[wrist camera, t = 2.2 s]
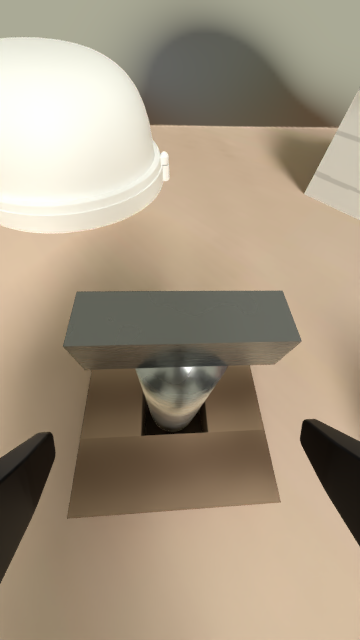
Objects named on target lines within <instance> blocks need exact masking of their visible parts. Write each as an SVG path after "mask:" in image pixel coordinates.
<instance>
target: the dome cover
mask: <svg viewBox="0 0 360 640" xmlns="http://www.w3.org/2000/svg"><path fill="white" fill-rule="evenodd" d="M169 179H170V178H169V163H168V154H167V153H166V152H162V153H160V152H159V149H158V146H157V145H156V143H155V142H154V141H153V140H152V134H151V129H150V124H149V121H148V116H147V113H146V110H145V106H144V104H143V102H142V99H141V96H140V94H139V92H138V90H137V88H136V86H135V85H134V83H133V82H132V80H131V79H130V78H129V76H128V75H127V74H126V73H125V71H124V70H123V69H122V68H121V67H120V66H119V65H117V64H116V63H115V62H114V61H113V60H111V59H110V58H108V57H106V56H105V55H103V54H102V53H99V52H98V51H95V50H93V49H91V48H88V47H85V46H83V45H79V44H76V43H72V42H67V41H62V40H57V39H48V38H33V37H15V38H0V225H1V226H4V227H7V228H11V229H15V230H20V231H26V232H34V233H70V232H79V231H86V230H91V229H96V228H100V227H104V226H107V225H110V224H114V223H116V222H119V221H122V220H124V219H126V218H128V217H131V216H133V215H134V214H136V213H138V212H140V211H141V210H142V209H144V208H145V207H147V206H148V205H149V204H150V203H151V202H152V201H153V200H154V199H155V198H156V197H157V195H158V194H159V192H160V191H161V188H162V186H163V181H167V180H169Z"/></svg>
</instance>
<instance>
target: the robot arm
mask: <svg viewBox="0 0 360 640" xmlns="http://www.w3.org/2000/svg"><path fill="white" fill-rule="evenodd" d="M300 441H301V445H302V447H303V449H304V451H305V453H306V455H307V457H308V459H309V461H310V463H311V464H312V466H313V468H314V470H315V472H316V474H317V476H318V478H319V480H320V482H321V484H322V486H323V487H324V489H325V491H326V493H327V494H328V496H329V498H330V499H331V501H332V503H333V504H334V506H335V507H336V509H337V511H338V512H339V514H340V515H341V517H342V519H343V520H344V522H345V524H346V525H347V527H348V528H349V530H350V532H351V533H352V535H353V536H354V538H355V540H356V541H357V543H358V544H359V546H360V441H358V440H356V439H354V438H352V437H350V436H348V435H346V434H344V433H342V432H340V431H338V430H336V429H334V428H332V427H330V426H328V425H326V424H324V423H322V422H320V421H318V420H316V419H306V420H304V421H303V423H302V429H301V435H300ZM54 459H55V446H54V439H53V434H52V433H51V432H41V433H37V434H36V435H34V436H33V437H31V438H30V439H28V440H27V441H25V442H24V443H22V444H21V445H19V446H18V447H16V448H15V449H13V450H12V451H10V452H9V453H7V454H6V455H4V456H3V457H1V458H0V583H1V581H2V579H3V577H4V575H5V573H6V571H7V569H8V566H9V564H10V562H11V560H12V558H13V556H14V554H15V552H16V550H17V548H18V546H19V543H20V541H21V539H22V537H23V535H24V533H25V531H26V529H27V527H28V525H29V523H30V520H31V518H32V516H33V514H34V512H35V509H36V507H37V504H38V502H39V499H40V496H41V494H42V491H43V488H44V486H45V483H46V480H47V478H48V475H49V472H50V470H51V467H52V464H53V462H54Z"/></svg>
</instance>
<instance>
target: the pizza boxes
mask: <svg viewBox="0 0 360 640" xmlns="http://www.w3.org/2000/svg"><path fill="white" fill-rule="evenodd" d="M304 194H305V195H307V196H309V197H311V198H313V199H315V200H317V201H320V202H322V203H324V204H326V205H328V206H330V207H332V208H335V209H337V210H339V211H341V212H343V213H345V214H347V215H350V216H352V217H354V218H356V219H358V220H360V88H359V90H358V92H357V94H356V96H355V98H354V99H353V101H352V103H351V105H350V107H349V109H348V111H347V113H346V115H345V117H344V119H343V121H342V122H341V125H340V126H339V128H338V130H337V132H336V134H335V136H334V138H333V140H332V141H331V143H330V145H329V147H328V149H327V151H326V153H325V155H324V157H323V159H322V161H321V162H320V164H319V166H318V168H317V170H316V172H315V174H314V176H313V178H312V180H311V182H310V183H309V185H308V187H307V189H306V191H305V193H304Z"/></svg>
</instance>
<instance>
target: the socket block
mask: <svg viewBox="0 0 360 640" xmlns="http://www.w3.org/2000/svg"><path fill="white" fill-rule="evenodd" d="M145 414H146V398H145V395H144V392H143V390H142V387H141V384H140V381H139V378H138V375H137V372H136V369H135V368H134V369H100V370H92V371H91V377H90V383H89V389H88V395H87V401H86V407H85V413H84V419H83V425H82V431H81V437H80V443H79V449H78V455H77V461H76V467H75V473H74V479H73V485H72V491H71V497H70V503H69V509H68V515H67V519H68V518H81V517H94V516H108V515H121V514H134V513H147V512H160V511H173V510H187V509H200V508H213V507H226V506H239V505H252V504H266V503H279V502H281V501H280V497H279V492H278V488H277V484H276V479H275V475H274V470H273V466H272V462H271V457H270V453H269V448H268V444H267V439H266V435H265V431H264V426H263V422H262V417H261V413H260V409H259V404H258V400H257V395H256V391H255V386H254V382H253V378H252V373H251V369H250V365H237V366H228V367H227V369H226V371H225V373H224V374H223V376H222V377H221V378H220V380H219V381H218V383H217V384H216V386H215V387H214V389H213V390H212V391H211V393H210V394H209V396H208V397H207V399H206V400H205V402H204V403H203V404H202V406H201V407H200V419H201V430H202V433H187V434H168V435H148V436H145Z"/></svg>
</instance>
